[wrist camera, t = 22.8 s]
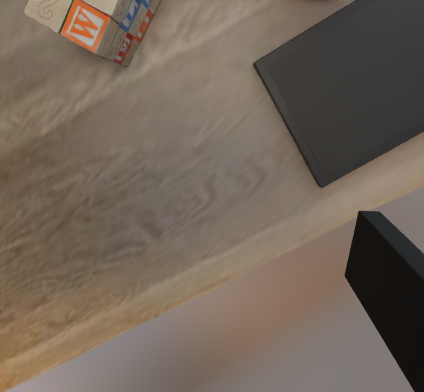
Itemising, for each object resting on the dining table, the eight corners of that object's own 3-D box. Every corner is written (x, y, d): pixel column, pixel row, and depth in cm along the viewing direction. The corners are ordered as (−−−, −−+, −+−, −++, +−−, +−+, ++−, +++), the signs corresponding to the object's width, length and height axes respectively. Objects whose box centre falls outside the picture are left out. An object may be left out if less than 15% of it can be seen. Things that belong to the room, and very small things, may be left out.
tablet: (318, 186, 45) (321, 188, 44) (252, 63, 42) (254, 62, 41) (495, 88, 42) (503, 87, 41) (438, -50, 39) (446, -56, 38)
